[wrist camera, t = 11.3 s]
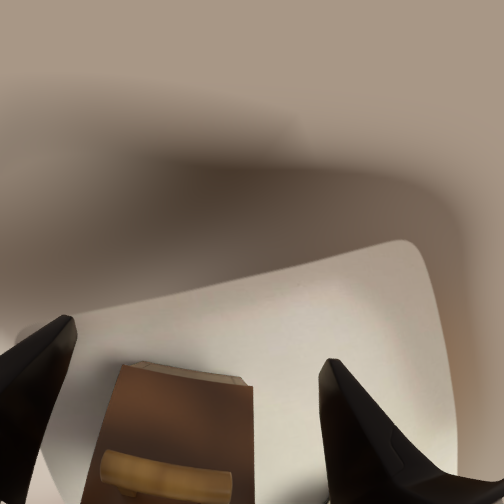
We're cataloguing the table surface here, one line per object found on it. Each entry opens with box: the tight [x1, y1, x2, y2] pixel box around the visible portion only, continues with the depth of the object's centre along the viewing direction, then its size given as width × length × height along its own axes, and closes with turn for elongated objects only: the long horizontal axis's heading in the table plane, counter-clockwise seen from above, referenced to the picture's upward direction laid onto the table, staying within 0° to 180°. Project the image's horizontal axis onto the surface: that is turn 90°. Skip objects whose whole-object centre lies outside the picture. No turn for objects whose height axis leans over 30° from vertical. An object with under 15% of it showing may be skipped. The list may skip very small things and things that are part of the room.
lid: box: [80, 364, 255, 504], centre depth 10 cm, size 12×8×5 cm
